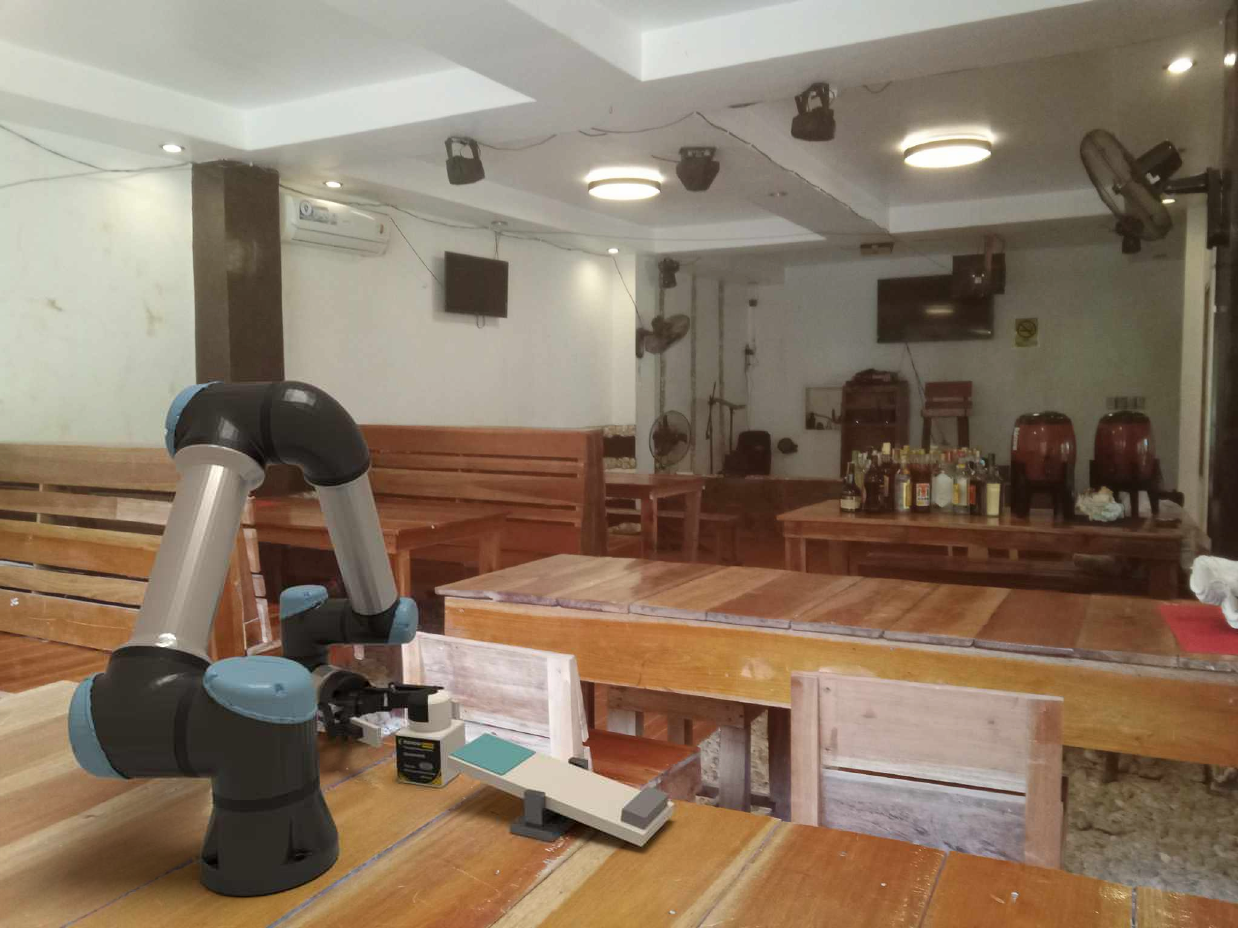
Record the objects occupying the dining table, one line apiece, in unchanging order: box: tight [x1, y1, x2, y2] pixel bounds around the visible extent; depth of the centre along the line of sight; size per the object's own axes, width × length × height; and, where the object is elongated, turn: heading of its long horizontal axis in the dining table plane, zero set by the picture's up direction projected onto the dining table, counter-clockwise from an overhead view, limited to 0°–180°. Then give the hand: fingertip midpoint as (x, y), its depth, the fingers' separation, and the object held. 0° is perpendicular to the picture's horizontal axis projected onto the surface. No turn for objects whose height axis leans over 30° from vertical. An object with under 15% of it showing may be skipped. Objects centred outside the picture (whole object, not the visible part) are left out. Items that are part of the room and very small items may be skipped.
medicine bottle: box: [395, 688, 467, 789], centre depth 133 cm, size 7×7×12 cm
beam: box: [447, 732, 675, 847], centre depth 120 cm, size 28×9×3 cm, turn 64°
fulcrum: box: [509, 756, 589, 843], centre depth 120 cm, size 6×13×5 cm, turn 153°
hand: (419, 723), depth 136 cm, fingers open, 13 cm apart
